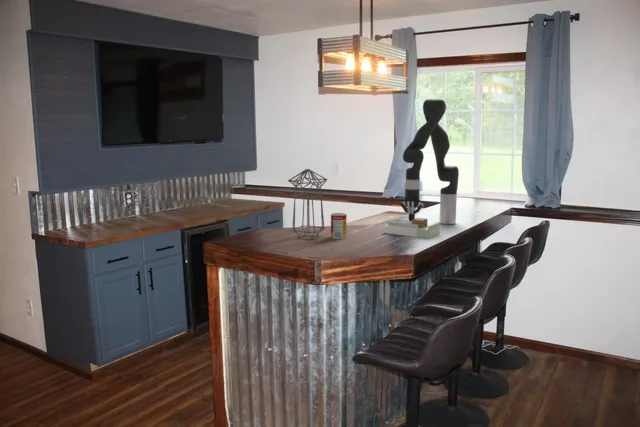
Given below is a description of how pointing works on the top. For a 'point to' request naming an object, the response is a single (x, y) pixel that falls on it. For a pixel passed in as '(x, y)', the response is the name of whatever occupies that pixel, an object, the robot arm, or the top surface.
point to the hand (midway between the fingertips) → (411, 220)
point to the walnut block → (420, 222)
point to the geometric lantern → (308, 201)
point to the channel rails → (403, 223)
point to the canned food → (338, 225)
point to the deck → (414, 230)
